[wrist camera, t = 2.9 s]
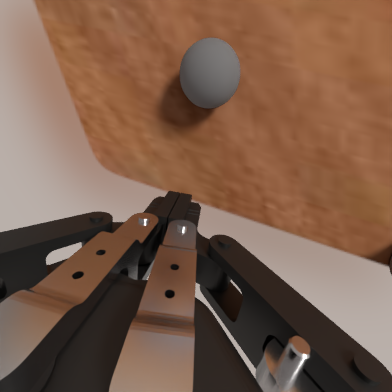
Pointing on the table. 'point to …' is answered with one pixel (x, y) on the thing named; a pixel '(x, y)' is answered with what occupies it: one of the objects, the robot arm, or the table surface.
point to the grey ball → (209, 73)
